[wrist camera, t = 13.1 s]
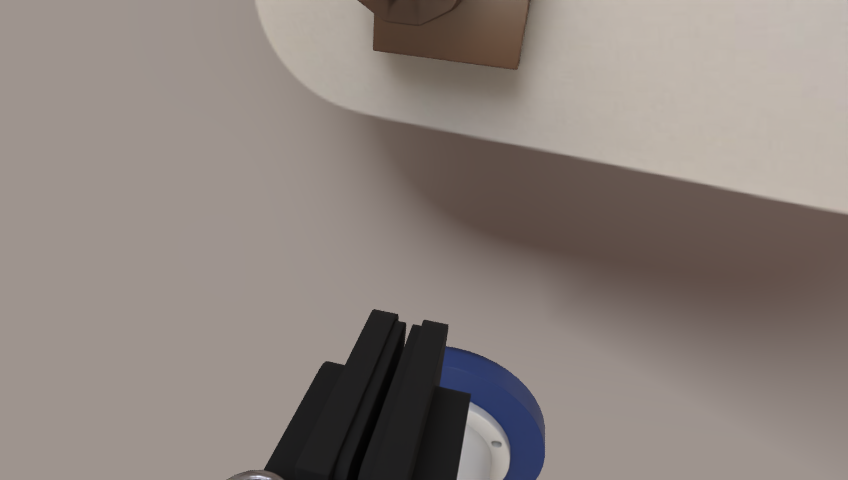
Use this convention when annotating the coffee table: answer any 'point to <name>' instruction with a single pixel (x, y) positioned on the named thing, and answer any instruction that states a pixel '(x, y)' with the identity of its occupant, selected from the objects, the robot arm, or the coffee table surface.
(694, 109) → the coffee table surface
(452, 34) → the button block
